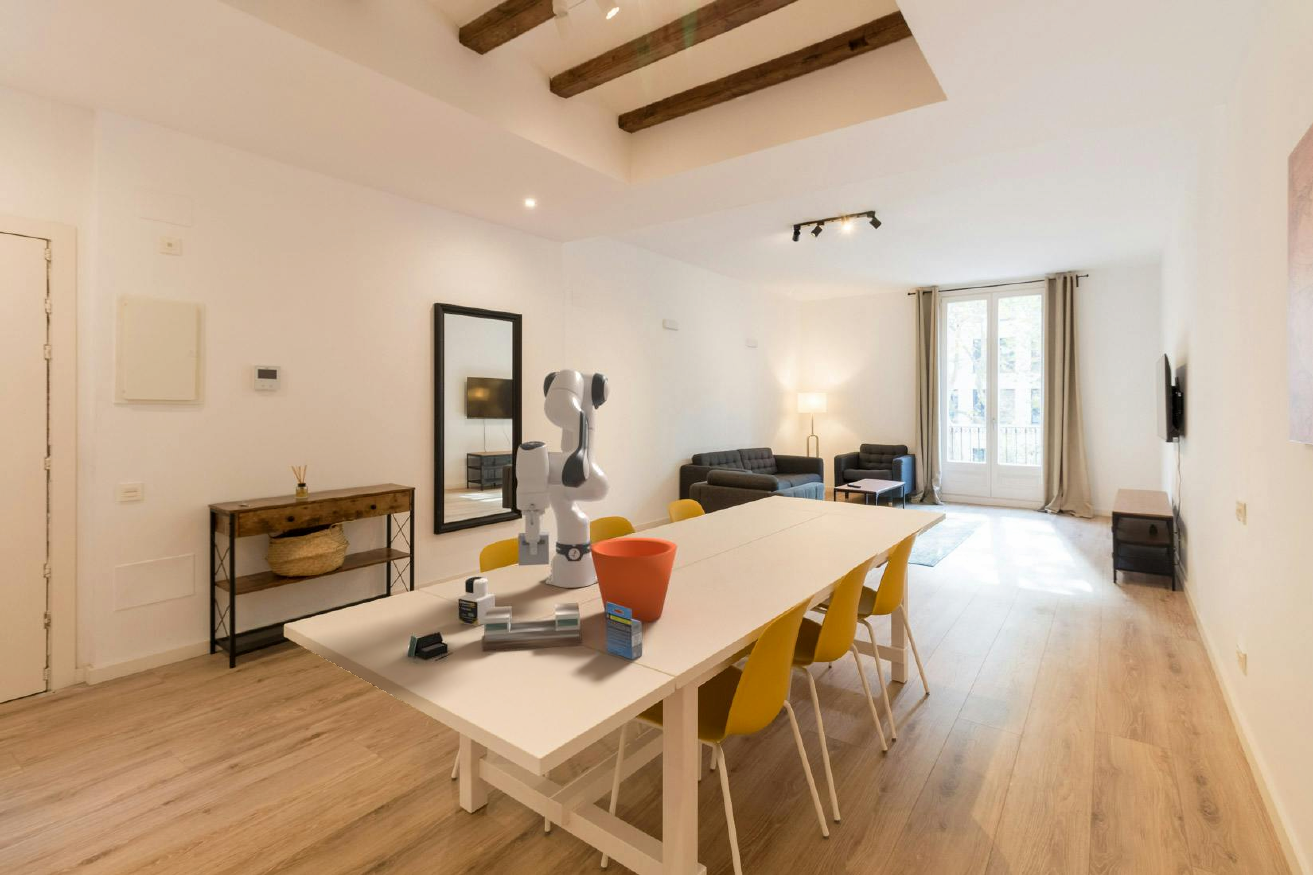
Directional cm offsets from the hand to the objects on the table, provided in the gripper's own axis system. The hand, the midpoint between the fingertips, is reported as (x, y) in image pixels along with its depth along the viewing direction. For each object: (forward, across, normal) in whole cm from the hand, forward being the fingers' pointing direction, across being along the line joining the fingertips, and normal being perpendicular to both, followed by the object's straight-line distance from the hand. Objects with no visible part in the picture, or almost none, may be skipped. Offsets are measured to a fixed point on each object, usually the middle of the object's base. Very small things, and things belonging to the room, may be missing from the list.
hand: (534, 551), depth 169 cm
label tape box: (+20, -24, -22) cm, 39 cm away
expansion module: (+3, 0, 0) cm, 3 cm away
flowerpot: (+21, +4, -28) cm, 35 cm away
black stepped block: (+21, -17, +24) cm, 36 cm away
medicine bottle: (+20, +6, +16) cm, 27 cm away
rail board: (+20, -11, 0) cm, 23 cm away
